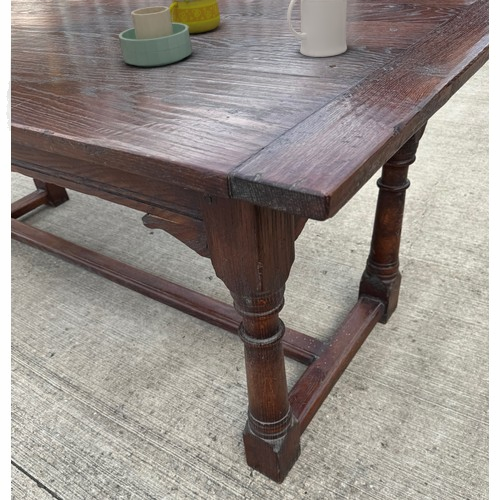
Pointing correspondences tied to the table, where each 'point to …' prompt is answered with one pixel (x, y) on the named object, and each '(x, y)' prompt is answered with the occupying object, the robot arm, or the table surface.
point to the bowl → (156, 47)
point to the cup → (152, 22)
